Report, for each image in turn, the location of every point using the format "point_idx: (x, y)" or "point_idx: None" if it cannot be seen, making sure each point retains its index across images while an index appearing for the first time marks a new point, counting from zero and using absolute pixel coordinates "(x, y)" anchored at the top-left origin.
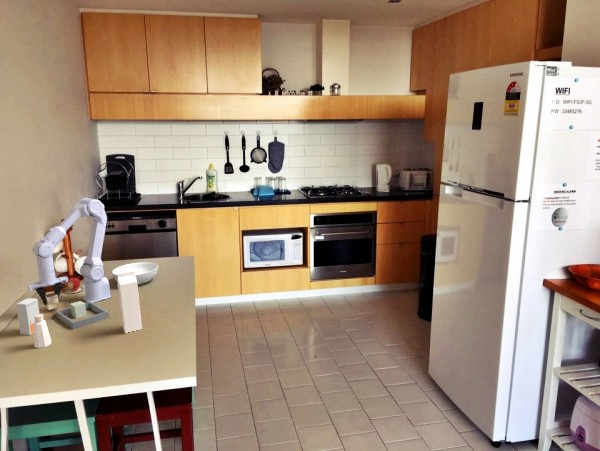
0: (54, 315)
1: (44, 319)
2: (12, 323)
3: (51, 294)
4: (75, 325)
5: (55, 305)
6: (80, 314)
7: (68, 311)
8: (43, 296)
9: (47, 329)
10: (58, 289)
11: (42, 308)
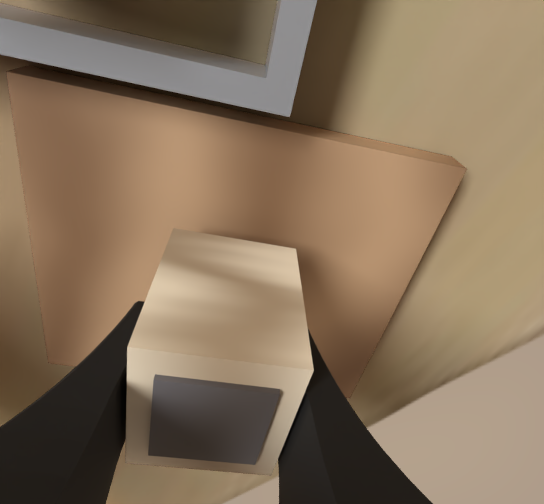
0: (297, 129)
1: (405, 148)
2: (532, 321)
3: (181, 438)
4: None
5: (214, 254)
6: None
7: (135, 41)
8: (353, 433)
9: None
10: (39, 466)
11: None
